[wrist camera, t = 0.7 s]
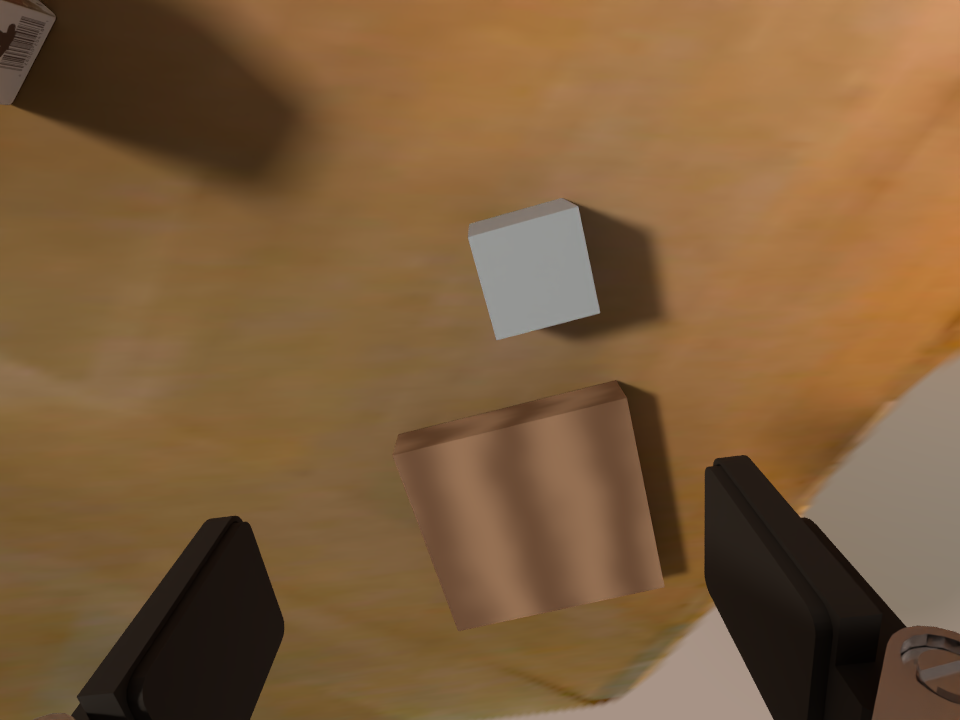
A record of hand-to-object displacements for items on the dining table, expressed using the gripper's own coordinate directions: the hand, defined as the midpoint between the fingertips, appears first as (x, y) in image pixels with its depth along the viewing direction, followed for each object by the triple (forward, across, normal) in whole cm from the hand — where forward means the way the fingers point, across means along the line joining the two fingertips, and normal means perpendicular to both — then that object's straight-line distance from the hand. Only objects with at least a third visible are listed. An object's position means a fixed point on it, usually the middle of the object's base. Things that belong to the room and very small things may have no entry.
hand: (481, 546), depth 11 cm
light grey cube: (+27, -3, 0) cm, 27 cm away
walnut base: (+26, -1, +18) cm, 32 cm away
